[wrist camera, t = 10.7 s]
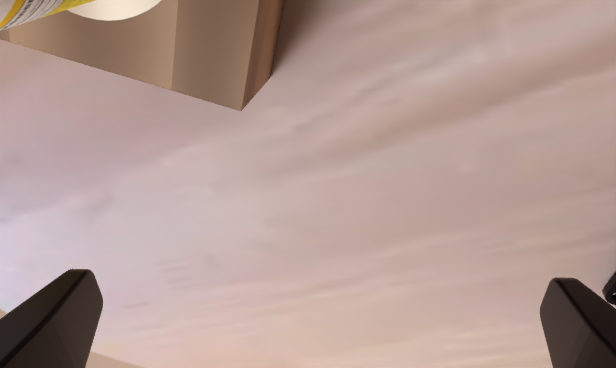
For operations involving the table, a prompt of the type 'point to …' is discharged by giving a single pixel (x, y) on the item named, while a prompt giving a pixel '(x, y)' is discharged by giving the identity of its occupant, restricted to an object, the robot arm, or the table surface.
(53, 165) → the table surface
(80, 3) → the supplement bottle
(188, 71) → the pocket block
